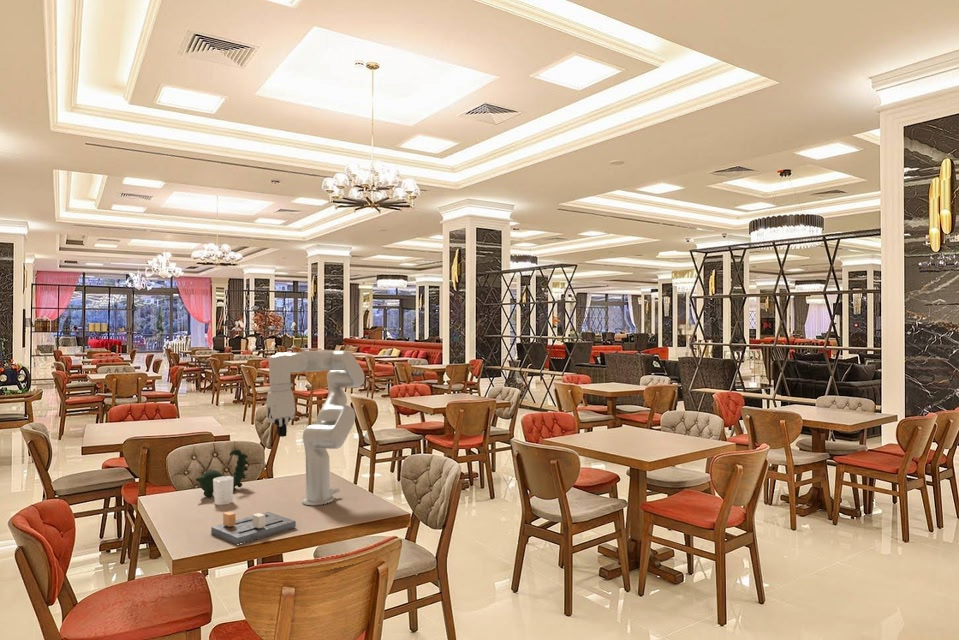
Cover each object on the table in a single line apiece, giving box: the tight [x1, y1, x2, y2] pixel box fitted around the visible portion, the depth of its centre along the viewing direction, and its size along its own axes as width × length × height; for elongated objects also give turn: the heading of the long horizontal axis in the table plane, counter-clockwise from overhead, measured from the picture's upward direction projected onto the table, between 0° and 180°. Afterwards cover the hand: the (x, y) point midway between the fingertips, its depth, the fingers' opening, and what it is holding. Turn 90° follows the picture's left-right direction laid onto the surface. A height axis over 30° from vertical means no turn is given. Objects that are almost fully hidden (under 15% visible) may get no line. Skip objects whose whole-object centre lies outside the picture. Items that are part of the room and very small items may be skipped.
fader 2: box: [252, 512, 265, 529], centre depth 215 cm, size 2×4×5 cm, turn 50°
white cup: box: [213, 475, 234, 506], centre depth 256 cm, size 8×8×10 cm
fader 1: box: [222, 511, 237, 527], centre depth 218 cm, size 2×4×5 cm, turn 50°
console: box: [210, 511, 297, 545], centre depth 219 cm, size 22×18×3 cm
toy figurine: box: [195, 448, 249, 498], centre depth 270 cm, size 9×19×25 cm
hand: (282, 436), depth 234 cm, fingers closed
